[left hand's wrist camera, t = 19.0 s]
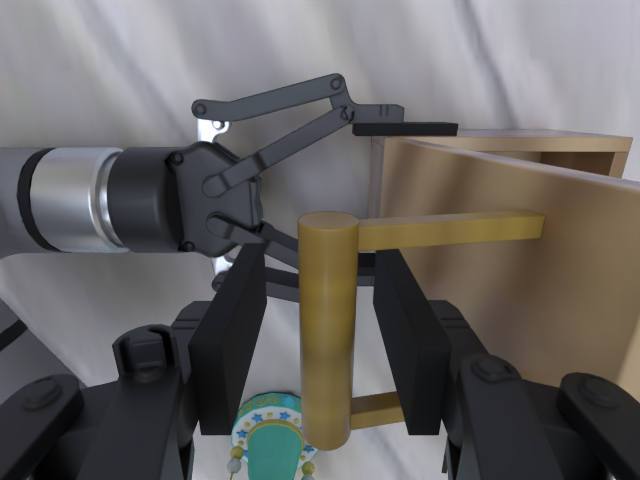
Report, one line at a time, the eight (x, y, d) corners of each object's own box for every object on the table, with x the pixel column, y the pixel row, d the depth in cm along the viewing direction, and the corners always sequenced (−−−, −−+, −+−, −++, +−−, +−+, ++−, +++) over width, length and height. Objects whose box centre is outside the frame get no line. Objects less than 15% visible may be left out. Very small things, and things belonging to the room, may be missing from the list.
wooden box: (550, 129, 30) (634, 137, 22) (527, 233, 34) (594, 272, 26) (372, 128, 30) (391, 136, 22) (367, 232, 34) (381, 272, 26)
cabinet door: (729, 198, 7) (327, 220, 6) (601, 513, 10) (323, 582, 9) (401, 137, 22) (266, 139, 20) (390, 275, 25) (273, 285, 24)
